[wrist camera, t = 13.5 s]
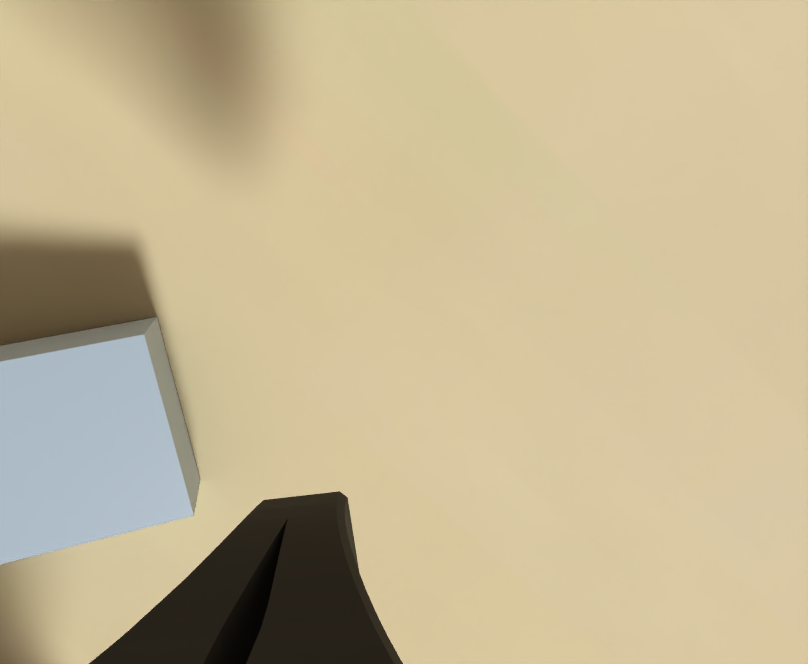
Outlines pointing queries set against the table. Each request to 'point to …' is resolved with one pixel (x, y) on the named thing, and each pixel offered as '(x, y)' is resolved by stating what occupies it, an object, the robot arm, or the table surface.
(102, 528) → the blue domino
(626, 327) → the table surface
